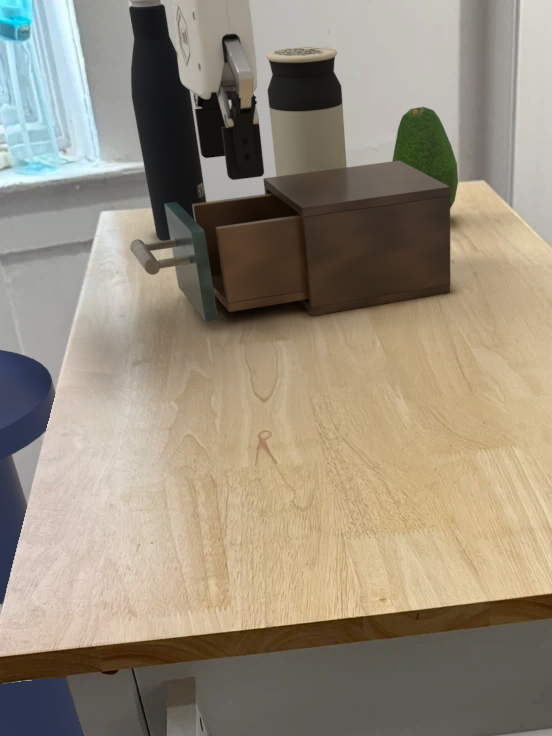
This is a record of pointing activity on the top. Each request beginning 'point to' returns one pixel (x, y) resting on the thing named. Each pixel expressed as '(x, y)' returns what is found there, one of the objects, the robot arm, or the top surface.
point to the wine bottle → (163, 116)
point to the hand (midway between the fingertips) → (231, 166)
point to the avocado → (427, 147)
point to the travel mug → (306, 110)
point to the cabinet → (369, 234)
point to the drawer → (233, 253)
